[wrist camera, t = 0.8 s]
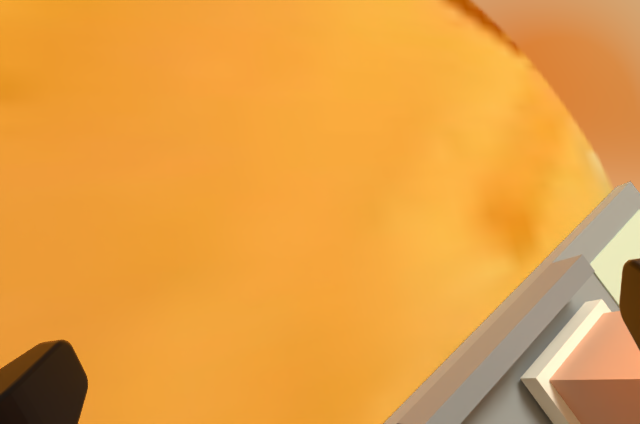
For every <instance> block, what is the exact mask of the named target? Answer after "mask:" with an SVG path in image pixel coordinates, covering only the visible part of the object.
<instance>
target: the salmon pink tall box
mask: <svg viewBox="0 0 640 424" xmlns="http://www.w3.org/2000/svg"><path fill="white" fill-rule="evenodd" d="M520 379H521V380H522V382H523V383H524V384H525V386H526V387H527V388H528V390H529V391H530V393H531V394H532V395H533V397H534V398H535V399H536V401H537V402H538V404H539V405H540V406H541V408H542V409H543V410H544V412H545V413H546V415H547V416H548V417H549V419H550V420H551V421H552V423H553V424H640V351H639V349H638V347H637V345H636V343H635V341H634V339H633V338H632V336H631V334H630V332H629V330H628V328H627V327H626V325H625V323H624V321H623V319H622V316H621V313H620V311H615V312H611V310H610V309H609V308H608V306H607V305H606V304H605V302H604V301H603V300H602V299H599V300H593V301H588V302H585V303H584V304H583V305H582V307H581V308H580V309H579V310H578V311H577V312H576V314H575V315H574V316H573V317H572V318H571V319H570V321H569V322H568V323H567V324H566V325H565V326H564V328H563V329H562V330H561V331H560V332H559V333H558V335H557V336H556V337H555V338H554V339H553V340H552V342H551V343H550V344H549V345H548V346H547V347H546V349H545V350H544V351H543V352H542V353H541V354H540V356H539V357H538V358H537V359H536V360H535V361H534V363H533V364H532V365H531V366H530V367H529V369H528V370H527V371H526V372H525V373H524V374H523V376H522V377H521V378H520Z"/></svg>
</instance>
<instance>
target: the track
mask: <svg viewBox="0 0 640 424" xmlns="http://www.w3.org/2000/svg"><path fill="white" fill-rule="evenodd" d="M638 258H640V193H639V192H638V190H637V189H636V188H635V186H634V185H633V184H632V183H631V182H628V183H625V184H623V185H620V186H618V187H616V188H615V189H614V190H613V191H612V192H611V193H610V194H609V195H608V196H607V197H606V198H605V199H604V200H603V201H602V202H601V203H600V204H599V205H598V206H597V207H596V208H595V209H594V210H593V211H592V212H591V213H590V214H589V215H588V216H587V217H586V218H585V219H584V220H583V221H582V222H581V223H580V224H579V225H578V226H577V227H576V228H575V229H574V230H573V231H572V232H571V233H570V234H569V235H568V237H567V238H566V239H565V240H564V241H563V242H562V243H561V244H560V245H559V246H558V247H557V248H556V249H555V250H554V251H553V252H552V253H551V254H550V255H549V256H548V257H547V258H546V259H545V260H544V261H543V262H542V263H541V264H540V265H539V266H538V267H537V268H536V269H535V270H534V271H533V272H532V273H531V274H530V275H529V276H528V277H527V278H526V279H525V280H524V281H523V282H522V283H521V284H520V285H519V286H518V287H517V288H516V289H515V290H514V291H513V292H512V293H511V294H510V295H509V296H508V298H507V299H506V300H505V301H504V302H503V303H502V304H501V305H500V306H499V307H498V308H497V309H496V310H495V311H494V312H493V313H492V314H491V315H490V316H489V317H488V318H487V319H486V320H485V321H484V322H483V323H482V324H481V325H480V326H479V327H478V328H477V329H476V330H475V331H474V332H473V333H472V334H471V335H470V336H469V337H468V338H467V339H466V340H465V341H464V342H463V343H462V344H461V345H460V346H459V347H458V348H457V349H456V350H455V351H454V352H453V353H452V354H451V355H450V356H449V358H448V359H447V360H446V361H445V362H444V363H443V364H442V365H441V366H440V367H439V368H438V369H437V370H436V371H435V372H434V373H433V374H432V375H431V376H430V377H429V378H428V379H427V380H426V381H425V382H424V383H423V384H422V385H421V386H420V387H419V388H418V389H417V390H416V391H415V392H414V393H413V394H412V395H411V396H410V397H409V398H408V399H407V400H406V401H405V402H404V403H403V404H402V405H401V406H400V407H399V408H398V409H397V410H396V411H395V412H394V413H393V414H392V415H391V416H390V417H389V419H388V420H387V421H386V422H385V423H384V424H553V423H552V421H551V420H550V419H549V417H548V416H547V415H546V413H545V412H544V410H543V409H542V408H541V406H540V405H539V404H538V402H537V401H536V399H535V398H534V397H533V395H532V394H531V393H530V391H529V390H528V388H527V387H526V386H525V384H524V383H523V382H522V380H521V379H520V378H521V377H522V376H523V374H524V373H525V372H526V371H527V370H528V369H529V367H530V366H531V365H532V364H533V363H534V361H535V360H536V359H537V358H538V357H539V356H540V354H541V353H542V352H543V351H544V350H545V349H546V347H547V346H548V345H549V344H550V343H551V342H552V340H553V339H554V338H555V337H556V336H557V335H558V333H559V332H560V331H561V330H562V329H563V328H564V326H565V325H566V324H567V323H568V322H569V321H570V319H571V318H572V317H573V316H574V315H575V314H576V312H577V311H578V310H579V309H580V308H581V307H582V305H583V304H584V303H585V302H588V301H593V300H599V299H602V300H603V301H604V302H605V304H606V305H607V306H608V308H609V309H610V310H611V312H615V311H620V308H619V300H620V290H621V279H622V270H623V266H624V264H625V263H626V262H627V261H628V260H631V259H638Z"/></svg>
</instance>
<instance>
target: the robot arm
mask: <svg viewBox="0 0 640 424" xmlns="http://www.w3.org/2000/svg"><path fill="white" fill-rule="evenodd" d="M619 308H620V313H621V316H622V319H623V321H624V323H625V325H626V327H627V328H628V330H629V332H630V334H631V336H632V338H633V339H634V341H635V343H636V345H637V347H638V349H639V351H640V258H638V259H631V260H628V261H627V262H626V263H625V264H624V266H623V270H622V279H621V290H620V300H619ZM87 389H88V380H87V376H86V373H85V371H84V369H83V367H82V365H81V363H80V361H79V359H78V357H77V355H76V353H75V351H74V349H73V347H72V346H71V344H70V343H69V342H68V341H65V340H56V341H49V342H43V343H40V344H38V345H36V346H35V347H33V348H32V349H30V350H29V351H27V352H26V353H24V354H23V355H21V356H20V357H18V358H16V359H15V360H13V361H12V362H10V363H9V364H7V365H6V366H4V367H3V368H1V369H0V424H78V421H79V418H80V414H81V411H82V407H83V404H84V400H85V397H86V393H87Z"/></svg>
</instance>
